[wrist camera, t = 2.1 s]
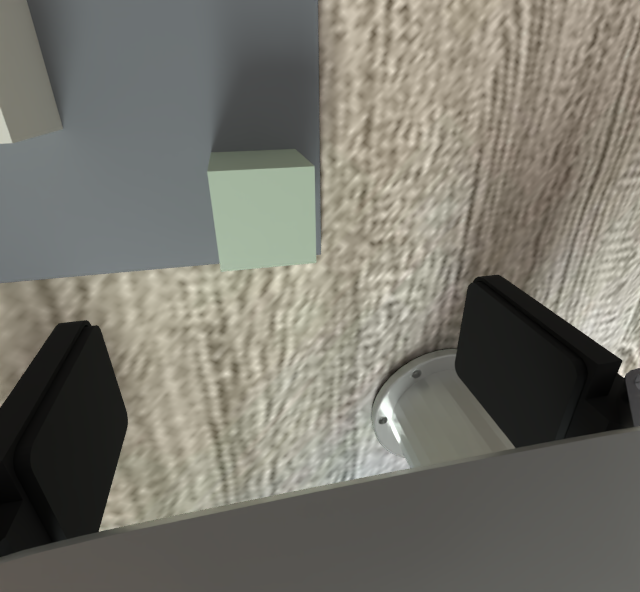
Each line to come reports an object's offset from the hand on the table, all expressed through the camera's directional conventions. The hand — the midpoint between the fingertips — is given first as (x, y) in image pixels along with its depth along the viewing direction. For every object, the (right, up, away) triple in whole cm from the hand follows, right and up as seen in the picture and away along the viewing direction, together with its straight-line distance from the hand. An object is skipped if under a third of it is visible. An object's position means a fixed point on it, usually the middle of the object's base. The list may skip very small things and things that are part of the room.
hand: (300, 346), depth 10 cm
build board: (-11, +11, +13) cm, 20 cm away
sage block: (-3, +8, +15) cm, 17 cm away
